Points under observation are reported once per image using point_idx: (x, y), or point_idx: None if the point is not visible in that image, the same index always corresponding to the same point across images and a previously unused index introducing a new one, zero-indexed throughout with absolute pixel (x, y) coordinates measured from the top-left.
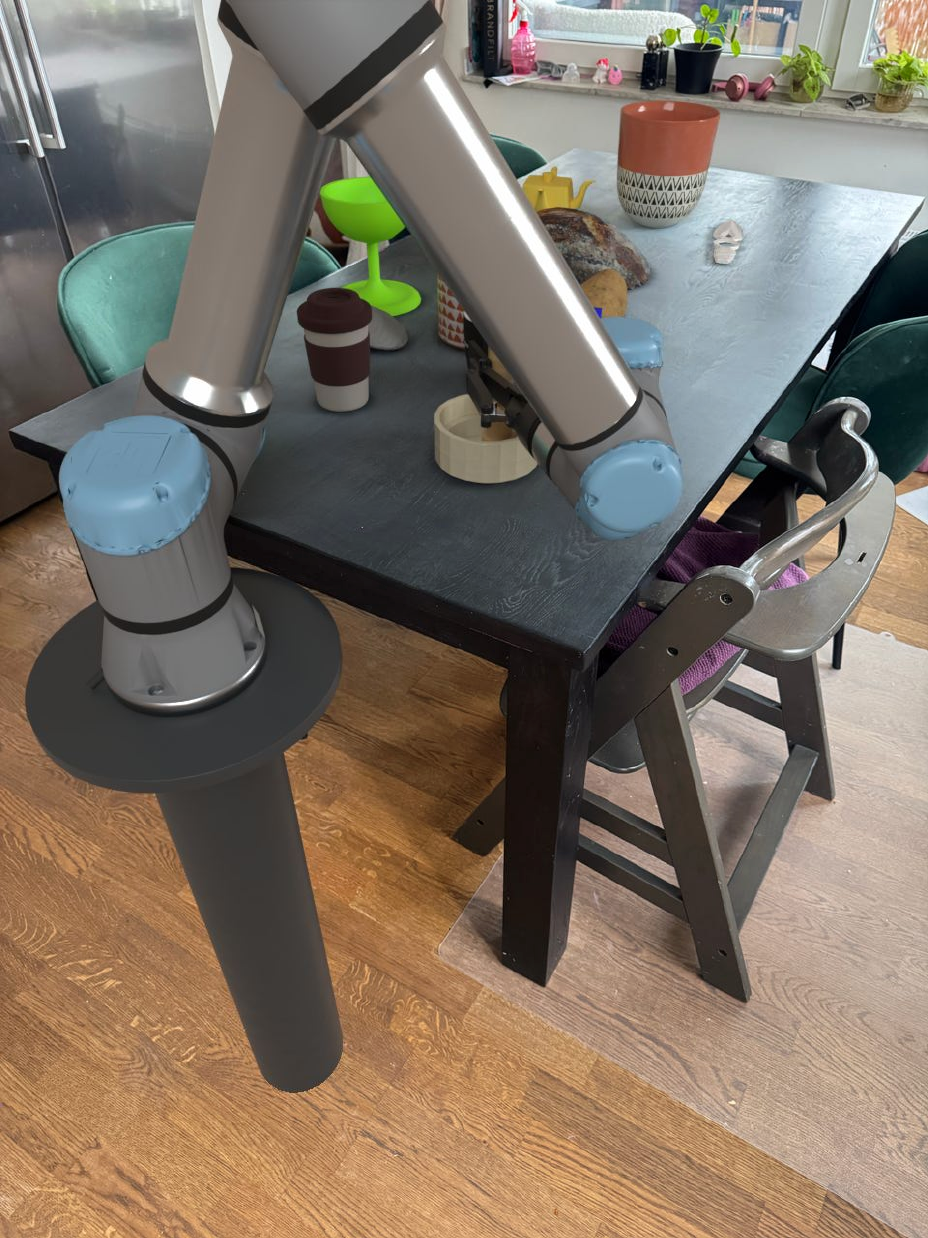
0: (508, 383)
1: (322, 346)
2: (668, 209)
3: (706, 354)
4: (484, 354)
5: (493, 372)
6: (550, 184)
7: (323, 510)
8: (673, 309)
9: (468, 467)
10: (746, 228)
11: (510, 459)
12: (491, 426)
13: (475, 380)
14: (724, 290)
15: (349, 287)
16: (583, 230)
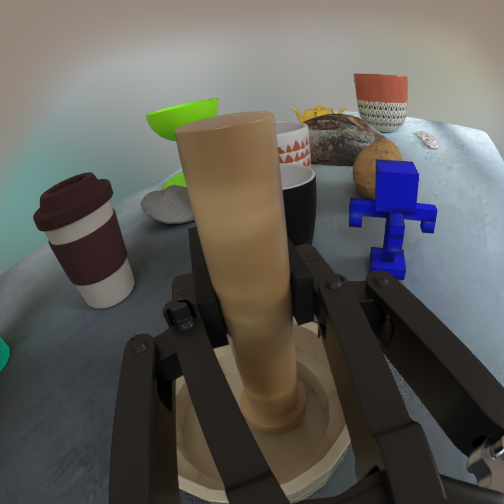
0: (245, 443)
1: (52, 244)
2: (392, 121)
3: (474, 211)
4: (205, 269)
5: (204, 358)
6: (320, 110)
7: (17, 487)
8: (426, 173)
9: (196, 497)
10: (430, 134)
11: None
12: (251, 402)
13: (128, 403)
14: (447, 162)
15: (180, 175)
16: (349, 122)
